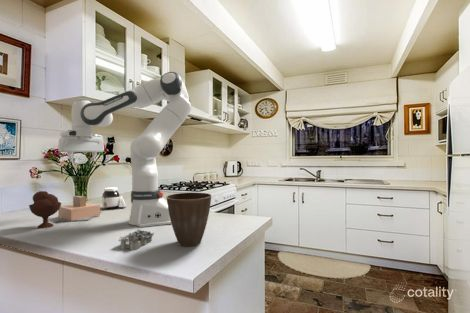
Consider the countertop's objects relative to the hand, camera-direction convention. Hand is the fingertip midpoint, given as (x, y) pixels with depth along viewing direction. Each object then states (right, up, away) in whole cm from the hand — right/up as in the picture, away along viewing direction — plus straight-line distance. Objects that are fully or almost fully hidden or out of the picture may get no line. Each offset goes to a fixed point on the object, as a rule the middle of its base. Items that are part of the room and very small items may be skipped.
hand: (82, 161), depth 126 cm
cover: (0, -27, -2) cm, 27 cm away
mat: (-1, -27, -2) cm, 27 cm away
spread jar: (+6, -27, +20) cm, 34 cm away
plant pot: (+60, -27, -40) cm, 77 cm away
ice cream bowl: (-4, -27, -19) cm, 33 cm away
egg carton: (+42, -27, -41) cm, 65 cm away
